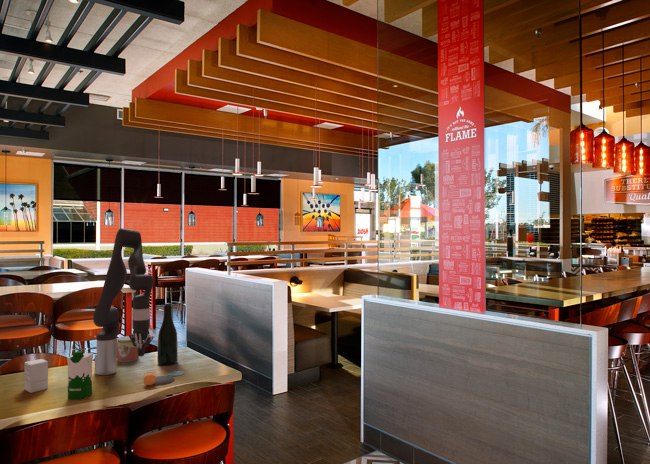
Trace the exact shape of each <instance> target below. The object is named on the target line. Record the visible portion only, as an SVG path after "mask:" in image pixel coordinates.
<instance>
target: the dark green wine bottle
mask: <svg viewBox="0 0 650 464" xmlns="http://www.w3.org/2000/svg"><path fill="white" fill-rule="evenodd" d="M174 323H175V322H174V320H173V305H172V303H170V302H165V303H164V305H163V318H162V323H161V325H160V328H159V330H158V334H157V365H159V366H173V365H176V364H177V363H178V359H179V358H178V357H179V356H178V354H179V353H178V350H179V349H178V332H177V329H176V326H175V324H174Z"/></svg>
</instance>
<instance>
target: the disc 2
mask: <svg viewBox="0 0 650 464" xmlns="http://www.w3.org/2000/svg"><path fill="white" fill-rule="evenodd" d="M183 375H185V371H182V370H175V371H170V372H168V373H167V376H171V377H179V376H183Z"/></svg>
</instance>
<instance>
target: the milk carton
mask: <svg viewBox="0 0 650 464" xmlns="http://www.w3.org/2000/svg"><path fill="white" fill-rule="evenodd" d="M93 359H94V353H93V352H91V353H87V352H86V353H84V350H77V351H73V352H72V355H70V356H68V357H66V361H67V400H85V399H87V398H89V396H91V395H92V394H93Z"/></svg>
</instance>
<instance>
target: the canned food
mask: <svg viewBox="0 0 650 464" xmlns="http://www.w3.org/2000/svg"><path fill="white" fill-rule="evenodd" d="M138 341H139V340H138ZM135 343H136V342H135ZM139 359H140V356H138V348H137V347H136V346H134V345H133V343H132V341H131V340H130V338H129V335H124V336H120V337H118V338H117V362H121V363H127V362H128V363H130V362H135V361H137V360H139Z"/></svg>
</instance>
